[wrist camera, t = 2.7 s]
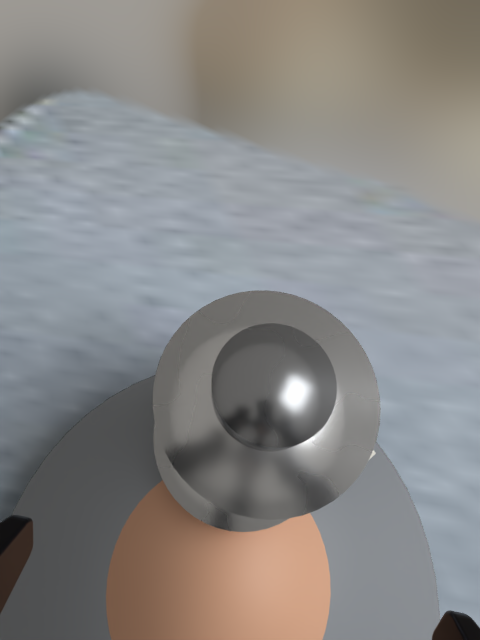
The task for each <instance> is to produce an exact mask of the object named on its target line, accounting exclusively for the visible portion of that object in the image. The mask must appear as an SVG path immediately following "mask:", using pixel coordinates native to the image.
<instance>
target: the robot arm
mask: <svg viewBox="0 0 480 640" xmlns="http://www.w3.org/2000/svg"><path fill="white" fill-rule="evenodd" d="M32 549H33V520H32V519H31V518H29V517H25V516H21V515H12V516H9V517H8V518H6V519H5V520H3V521H2V522H0V614H1V612H2V610H3V608H4V606H5V604H6V602H7V600H8V598H9V596H10V594H11V592H12V590H13V588H14V586H15V584H16V582H17V580H18V578H19V576H20V574H21V572H22V570H23V568H24V566H25V564H26V562H27V561H28V559H29V556H30V554H31V552H32ZM432 640H480V628H479V627H478V625H477V624H476V623H475V622H474V620H473V619H472V618H471V617H469V616H468V615H466V614H464V613H459V612H455V611H447V612H446V613H445V614H444V615H443V617H442V619H441V620H440V622H439V623H438V625H437V627H436V628H435V630H434V632H433V635H432Z"/></svg>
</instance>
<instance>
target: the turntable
mask: <svg viewBox="0 0 480 640" xmlns="http://www.w3.org/2000/svg"><path fill="white" fill-rule="evenodd" d="M154 381H155V375H154V376H152V377H150V378H147V379H145V380H143V381H140V382H138V383H136V384H133V385H131V386H129V387H128V388H126V389H124V390H122V391H121V392H119V393H117V394H115V395H114V396H112V397H110V398H109V399H107V400H106V401H105V402H103V403H102V404H100V405H99V406H98V407H96V408H95V409H94V410H92V411H91V412H90V413H88V414H87V415H86V416H85V417H84V418H83V419H82V420H81V421H79V422H78V423H77V424H76V425H75V426H74V427H73V428H72V429H71V430H70V431H69V432H68V433H66V435H65V436H64V437H63V438H62V439H61V440H60V442H59V443H58V444H57V445H56V446H55V447H54V448H53V450H52V451H51V452H50V453H49V454H48V455H47V457H46V458H45V460H44V461H43V462H42V464H41V465H40V467H39V468H38V470H37V471H36V473H35V474H34V475H33V477H32V478H31V480H30V481H29V483H28V485H27V486H26V488H25V490H24V492H23V494H22V496H21V498H20V499H19V501H18V503H17V505H16V507H15V509H14V510H13V513H12V515H21V516H25V517H29V518H31V519H32V520H33V549H32V552H31V554H30V556H29V559H28V561H27V562H26V564H25V566H24V568H23V570H22V572H21V574H20V576H19V578H18V580H17V582H16V584H15V586H14V588H13V590H12V592H11V594H10V596H9V598H8V600H7V602H6V604H5V606H4V608H3V610H2V612H1V614H0V640H432V635H433V632H434V630H435V628H436V627H437V625H438V623H439V622H440V611H439V602H438V593H437V583H436V576H435V572H434V567H433V562H432V558H431V553H430V548H429V545H428V541H427V538H426V535H425V532H424V529H423V526H422V523H421V520H420V517H419V514H418V512H417V510H416V508H415V505H414V503H413V501H412V499H411V496H410V494H409V492H408V490H407V488H406V486H405V484H404V483H403V481H402V479H401V477H400V476H399V474H398V472H397V470H396V469H395V467H394V465H393V464H392V462H391V461H390V459H389V458H388V457H387V455H386V454H385V453H384V451H383V450H382V449H381V447H380V446H379V444H378V443H377V442H376V443H375V446H374V449H373V451H372V454H371V456H370V458H369V460H368V462H367V464H366V466H365V468H364V469H363V471H362V472H361V474H360V475H359V476H358V478H357V479H356V481H355V482H354V483H353V484H352V485H351V486H350V487H349V488H348V489H347V490H346V491H345V492H344V493H343V494H341V495H340V496H339V497H338V498H336V499H335V500H334V501H333V502H331V503H329V504H327V505H326V506H324V507H322V508H320V509H318V510H316V511H313V512H311V513H308V514H305V515H302V516H298V517H293V518H289V519H288V520H286V521H284V522H282V523H280V524H278V525H276V526H273V527H270V528H268V529H263V530H259V531H252V532H235V531H227V530H223V529H219V528H216V527H213V526H211V525H208V524H206V523H204V522H202V521H200V520H199V519H197V518H195V517H194V516H192V515H191V514H190V513H189V512H187V511H186V510H185V509H184V508H183V507H182V506H181V505H180V504H179V503H178V502H177V501H176V500H175V499H174V497H173V496H172V494H171V493H170V492H169V490H168V489H167V487H166V485H165V483H164V481H163V479H162V477H161V475H160V472H159V469H158V467H157V463H156V458H155V454H154V444H153V434H154V424H155V420H154V412H153V386H154ZM12 515H11V516H12Z"/></svg>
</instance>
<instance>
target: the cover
mask: <svg viewBox="0 0 480 640" xmlns="http://www.w3.org/2000/svg"><path fill="white" fill-rule="evenodd" d="M153 412H154V420H155V424H154V434H153V444H154V454H155V458H156V463H157V467H158V469H159V472H160V475H161V477H162V479H163V481H164V483H165V485H166V487H167V489H168V490H169V492H170V493H171V494H172V496H173V497H174V499H175V500H176V501H177V502H178V503H179V504H180V505H181V506H182V507H183V508H184V509H185V510H186V511H187V512H189V513H190V514H191V515H192V516H194V517H195V518H197V519H199V520H200V521H202V522H204V523H206V524H208V525H211V526H213V527H216V528H219V529H223V530H227V531H235V532H252V531H259V530H263V529H268V528H270V527H273V526H276V525H278V524H280V523H282V522H284V521H286V520H288V519H289V518H293V517H298V516H302V515H305V514H308V513H311V512H313V511H316V510H318V509H320V508H322V507H324V506H326V505H327V504H329V503H331V502H333V501H334V500H335V499H336V498H338V497H339V496H340V495H341V494H343V493H344V492H345V491H346V490H347V489H348V488H349V487H350V486H351V485H352V484H353V483H354V482H355V481H356V479H357V478H358V476H359V475H360V474H361V472H362V471H363V469H364V468H365V466H366V464H367V462H368V460H369V458H370V456H371V454H372V451H373V449H374V446H375V443H376V440H377V435H378V430H379V425H380V396H379V390H378V385H377V380H376V377H375V374H374V371H373V368H372V366H371V363H370V361H369V359H368V357H367V355H366V353H365V351H364V350H363V348H362V347H361V345H360V343H359V342H358V340H357V339H356V338H355V337H354V335H353V334H352V333H351V332H350V330H349V329H348V328H347V327H346V326H345V325H344V324H343V323H342V322H341V321H340V320H338V319H337V318H336V317H334V316H333V315H332V314H331V313H329V312H328V311H326V310H325V309H323V308H322V307H320V306H318V305H316V304H314V303H312V302H310V301H308V300H306V299H303V298H300V297H298V296H295V295H291V294H287V293H282V292H275V291H248V292H240V293H236V294H232V295H228V296H226V297H223V298H221V299H218V300H215V301H214V302H212V303H210V304H208V305H206V306H204V307H203V308H201V309H200V310H198V311H197V312H196V313H194V314H193V315H192V316H191V317H190V318H188V319H187V320H186V321H185V322H184V323H183V324H182V325H181V326H180V328H179V329H178V330H177V331H176V332H175V334H174V335H173V337H172V338H171V340H170V341H169V343H168V344H167V346H166V348H165V350H164V352H163V354H162V356H161V359H160V362H159V365H158V368H157V371H156V375H155V381H154V386H153Z"/></svg>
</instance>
